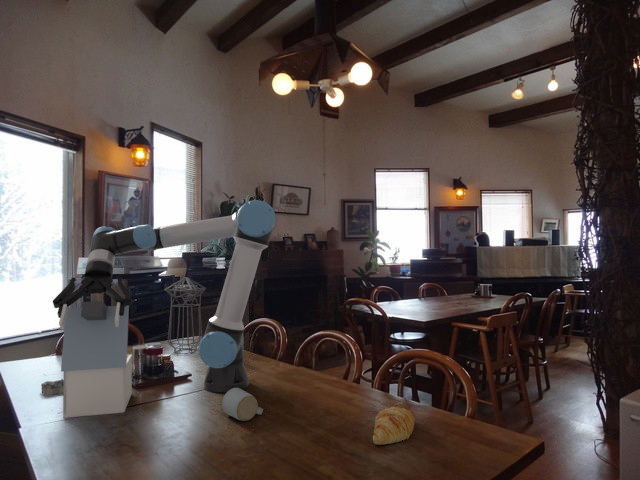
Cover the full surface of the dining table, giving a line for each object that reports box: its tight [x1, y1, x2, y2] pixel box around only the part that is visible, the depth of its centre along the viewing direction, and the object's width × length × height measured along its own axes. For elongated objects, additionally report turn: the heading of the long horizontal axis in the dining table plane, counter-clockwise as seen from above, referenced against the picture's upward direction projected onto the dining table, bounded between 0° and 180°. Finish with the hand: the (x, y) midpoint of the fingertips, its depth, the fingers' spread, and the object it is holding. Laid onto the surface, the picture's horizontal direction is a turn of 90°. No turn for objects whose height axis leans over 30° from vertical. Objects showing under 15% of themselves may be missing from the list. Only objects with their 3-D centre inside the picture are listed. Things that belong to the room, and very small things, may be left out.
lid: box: [60, 300, 130, 373], centre depth 131 cm, size 18×17×10 cm
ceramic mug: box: [221, 388, 264, 422], centre depth 131 cm, size 11×8×8 cm
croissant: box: [372, 405, 416, 446], centre depth 118 cm, size 21×10×8 cm, turn 147°
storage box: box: [62, 354, 133, 418], centre depth 141 cm, size 18×16×13 cm
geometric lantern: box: [164, 277, 208, 354], centre depth 218 cm, size 16×16×35 cm
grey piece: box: [41, 378, 64, 397], centre depth 156 cm, size 11×8×4 cm
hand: (89, 325), depth 125 cm, fingers open, 13 cm apart
